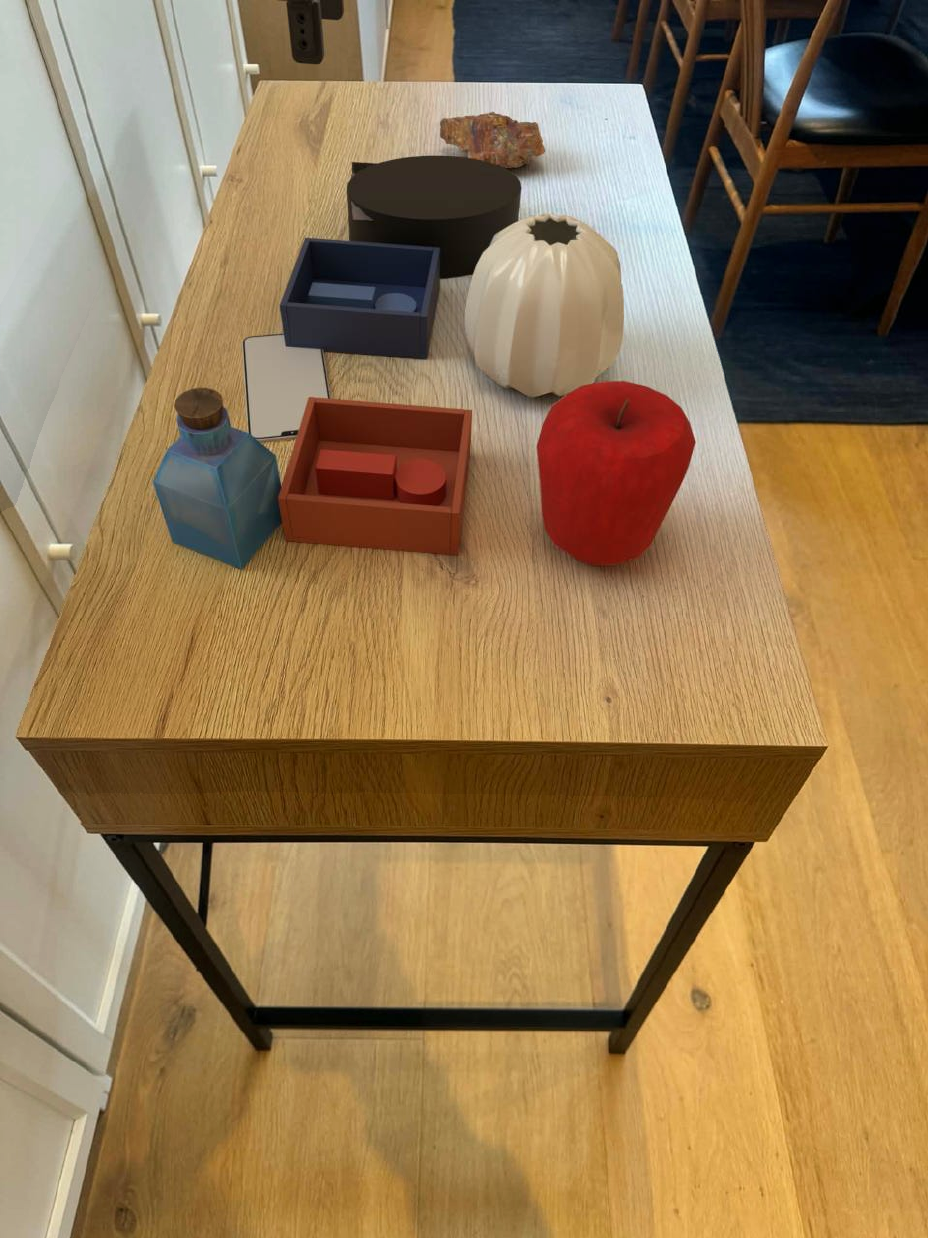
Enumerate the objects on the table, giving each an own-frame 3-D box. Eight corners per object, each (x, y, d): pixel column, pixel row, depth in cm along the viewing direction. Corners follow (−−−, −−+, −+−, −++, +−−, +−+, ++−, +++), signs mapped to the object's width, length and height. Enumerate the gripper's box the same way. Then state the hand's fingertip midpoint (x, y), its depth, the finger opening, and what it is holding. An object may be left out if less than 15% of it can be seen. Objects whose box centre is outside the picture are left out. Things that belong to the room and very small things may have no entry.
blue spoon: (309, 327, 84) (306, 300, 82) (317, 303, 86) (314, 276, 84) (414, 335, 84) (414, 308, 82) (419, 310, 86) (419, 284, 84)
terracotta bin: (285, 541, 68) (277, 498, 64) (314, 439, 75) (308, 396, 71) (458, 555, 67) (459, 513, 64) (470, 452, 75) (472, 409, 71)
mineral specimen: (446, 168, 102) (443, 101, 99) (440, 176, 109) (438, 113, 107) (549, 165, 103) (549, 98, 100) (537, 173, 110) (537, 111, 108)
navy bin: (285, 348, 83) (279, 305, 79) (309, 279, 90) (304, 237, 86) (426, 359, 82) (426, 316, 79) (439, 289, 90) (440, 247, 86)
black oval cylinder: (522, 286, 92) (534, 215, 87) (347, 279, 90) (347, 205, 84) (504, 219, 101) (513, 150, 96) (345, 211, 99) (345, 140, 93)
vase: (457, 327, 86) (461, 188, 75) (599, 323, 87) (623, 186, 76) (471, 420, 77) (477, 278, 67) (628, 414, 78) (659, 274, 68)
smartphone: (320, 329, 84) (336, 431, 75) (321, 335, 85) (337, 437, 76) (241, 336, 83) (247, 440, 74) (242, 342, 84) (249, 447, 75)
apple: (652, 493, 72) (691, 350, 62) (673, 590, 66) (720, 450, 55) (522, 492, 72) (539, 348, 61) (531, 590, 65) (551, 448, 55)
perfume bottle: (286, 516, 69) (264, 389, 60) (241, 569, 66) (210, 444, 56) (219, 491, 71) (187, 363, 61) (172, 542, 67) (130, 415, 58)
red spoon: (316, 502, 70) (312, 475, 67) (325, 467, 72) (322, 441, 70) (443, 512, 69) (443, 486, 67) (448, 477, 72) (448, 451, 70)
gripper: (259, -286, 58) (289, 2, 71) (201, -246, 50) (247, 74, 62) (373, -279, 58) (382, 8, 71) (335, -238, 49) (354, 81, 62)
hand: (319, 38), depth 67 cm, fingers open, 8 cm apart
